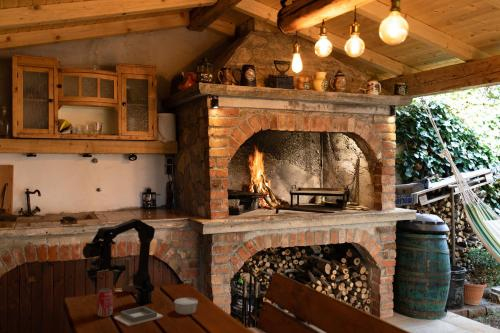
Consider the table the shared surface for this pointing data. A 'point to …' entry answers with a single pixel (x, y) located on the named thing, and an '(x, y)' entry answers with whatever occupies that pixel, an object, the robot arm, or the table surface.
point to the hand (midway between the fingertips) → (104, 287)
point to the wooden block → (128, 278)
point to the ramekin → (185, 305)
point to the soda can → (105, 302)
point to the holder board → (137, 316)
